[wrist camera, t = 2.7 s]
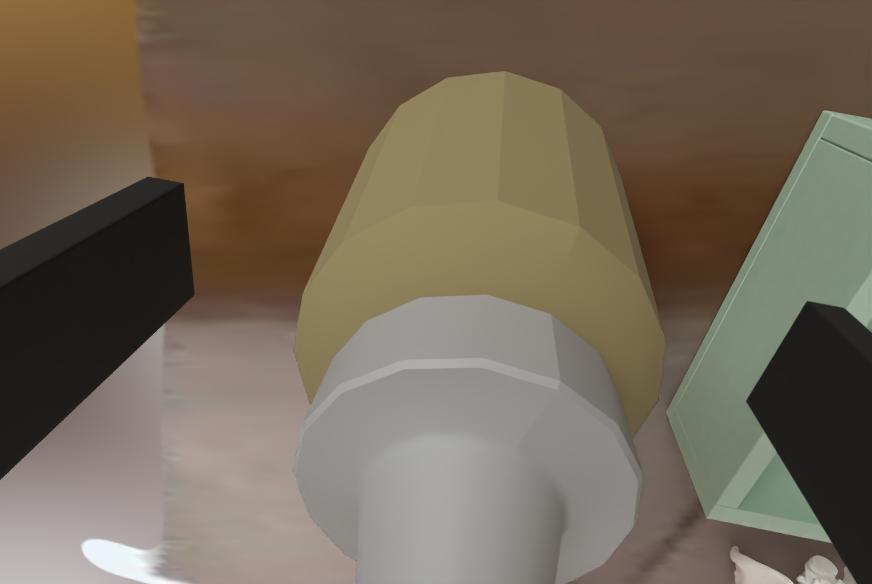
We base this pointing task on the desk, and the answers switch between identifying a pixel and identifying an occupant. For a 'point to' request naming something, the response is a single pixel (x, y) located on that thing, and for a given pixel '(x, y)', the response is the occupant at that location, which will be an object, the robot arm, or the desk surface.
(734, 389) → the bin
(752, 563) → the anatomical pelvis
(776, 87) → the desk surface
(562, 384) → the squeeze bottle
